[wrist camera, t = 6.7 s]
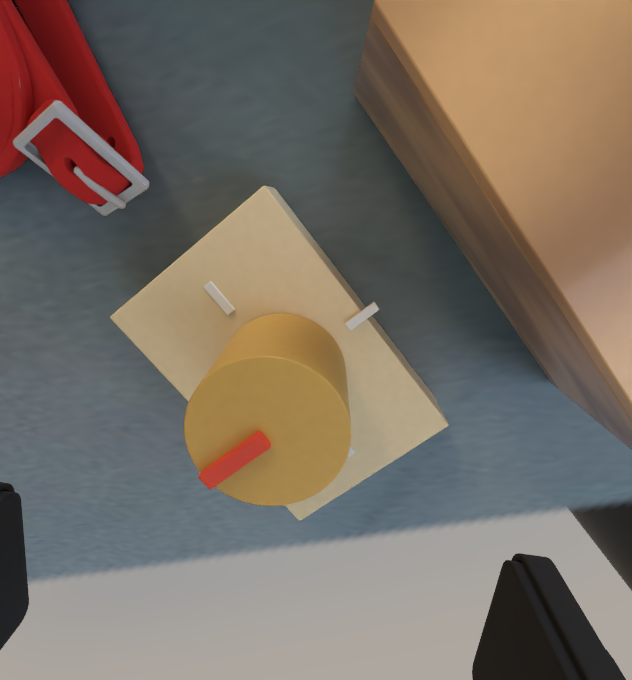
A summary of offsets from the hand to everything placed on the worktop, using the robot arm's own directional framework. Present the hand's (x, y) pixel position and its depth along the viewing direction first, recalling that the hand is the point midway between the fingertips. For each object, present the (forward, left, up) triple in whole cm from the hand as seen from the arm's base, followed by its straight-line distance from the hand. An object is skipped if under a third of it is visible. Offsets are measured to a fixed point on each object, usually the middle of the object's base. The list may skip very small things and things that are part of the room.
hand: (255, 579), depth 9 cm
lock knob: (+1, 0, -10) cm, 10 cm away
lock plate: (+1, 0, -13) cm, 13 cm away
